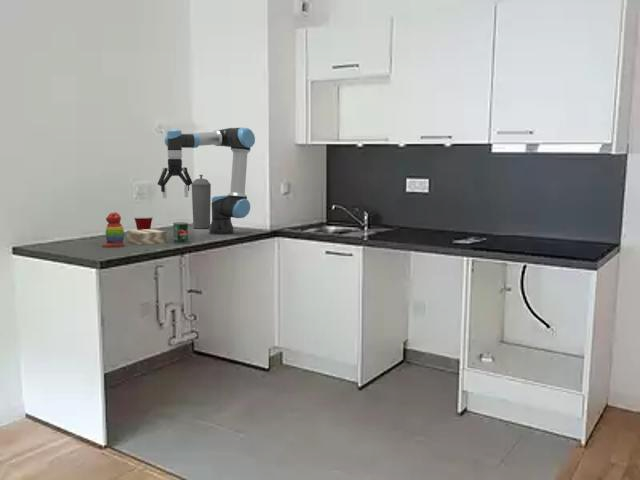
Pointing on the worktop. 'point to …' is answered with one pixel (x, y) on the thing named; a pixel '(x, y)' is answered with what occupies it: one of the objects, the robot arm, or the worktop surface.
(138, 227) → the plastic cup
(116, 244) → the stacking bear
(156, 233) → the base block
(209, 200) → the canister
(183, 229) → the canned tomato
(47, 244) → the worktop surface
